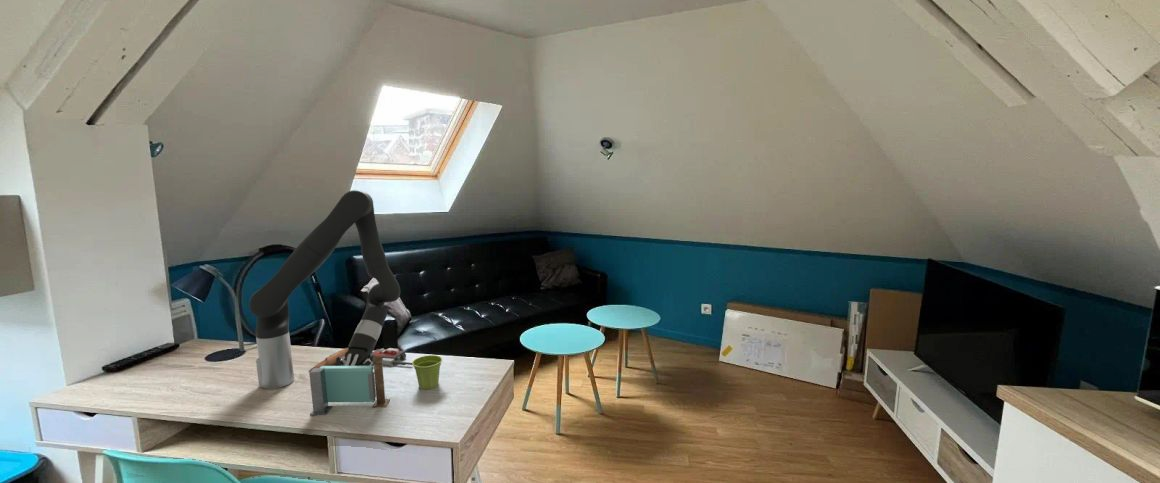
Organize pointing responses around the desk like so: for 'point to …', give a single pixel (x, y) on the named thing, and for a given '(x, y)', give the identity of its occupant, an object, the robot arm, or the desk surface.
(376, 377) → the hinge post
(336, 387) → the gate
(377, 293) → the robot arm
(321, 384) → the latch post
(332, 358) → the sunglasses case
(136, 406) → the desk surface
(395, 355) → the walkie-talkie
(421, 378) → the plant pot
